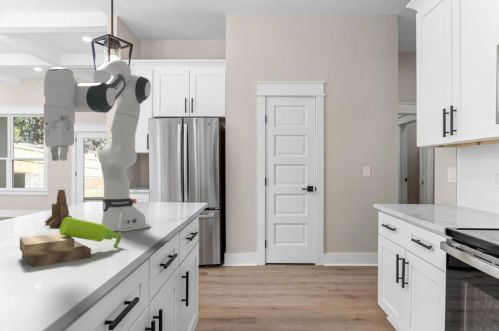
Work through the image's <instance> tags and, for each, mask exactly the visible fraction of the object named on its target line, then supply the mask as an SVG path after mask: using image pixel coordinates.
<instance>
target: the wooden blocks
mask: <svg viewBox="0 0 499 331" xmlns="http://www.w3.org/2000/svg"><path fill="white" fill-rule="evenodd" d="M65 190H66V189H58V190H57V191H58V192H57V194H56V202H55V203H52V204H51V215H50V216H49V217H48V218H47V219H46V220H45V221H44V224H46V225H47V226H49V227H50V228H52V229H54V228H53V227H55V228H56V227H58V226H59V227H60V226H61V223H62V221H63V219H64V218H65V217H70V218H73V216H71V214H70V211H69V206H68V205H69V204H68V203H67V195H66V191H65ZM69 214H70V215H69Z"/></svg>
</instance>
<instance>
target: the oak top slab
mask: <svg viewBox="0 0 499 331" xmlns="http://www.w3.org/2000/svg"><path fill="white" fill-rule="evenodd" d="M74 241H75V238H74V237H70V236H65V235H60V232H59V233H52V234H41V235H31V236H23V237H19V250H20V251H21V254H22V253H23V255H24V256H25V257H29V256H36V255H44V254H51V253H58V252H66V251H73V250H74Z"/></svg>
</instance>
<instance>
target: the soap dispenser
mask: <svg viewBox="0 0 499 331" xmlns="http://www.w3.org/2000/svg"><path fill="white" fill-rule="evenodd" d="M117 232H118V233H116V232H115V231H113V230H108V229H107V227H106V225H103V224H101V223H97V222H92V221H89V220H88V221H87V220H83V219H78V218H75V217H72V218H70V217H65V218H64V219H63V221H62V223H61V226H59V233H60V235H65V236H70V237H72V238H77V239H81V240H87V241H94V242H97V243H98V242H100V243H101V242H103V240H110V241H111V240H113V239H115V242H114V244H113V247H114V248H118V246H119V244H120V242H121V240H122V236H123V232H121V231H117Z"/></svg>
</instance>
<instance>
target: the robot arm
mask: <svg viewBox="0 0 499 331" xmlns="http://www.w3.org/2000/svg"><path fill="white" fill-rule="evenodd" d="M93 81H94V83H79V82H78V81H77V80H76V79H75V75H74V71H73V70H72V69H71V68H65V67H51V68H49V69H47V70H46V72H45V75H44V82H43V96H44V99H45V101H44V103H43V104H44V105H43V117H42V122H41V123H42V125H43V126H44V127H43V128H44V131H43V132H44V144H45V146H46V147H47V148H50V153H51V161H53V162H58V161H59V160H60V161H68V154H69V147H70V146H74V144H75V123H76V113H102V114H103V113H104V114H105V113H108V112H110V111H111V110H112V109H113V108H114V105H115V103H116V101H117V100H118V99H119V100H118V103H117V105H116V108H115V110H114V115H113V119H112V122H111V126H110V132H111V144H110V145H107V146H105V147H104V148H102V149H101V150H100V151H99V153H98V161H99V164H100V166H101V172H102V177H103V178H102V179H103V198H102V211H103V212H102V213H103V214H102V220H101V223H100V224H103V225H106V227H107V229H108V230H113V231H114V232H128V231H134V230H141V229H146V228H147V229H148V228H151V224H150V223H148V222H147V219H146V215H145V213H144V212H142V211H141V210H140V209H138V208H137V207H136V206H134V204H136V203H137V202H138V200H137V198H131V197H130V179H129V178H128V175H127V171H126V169H128V168H130V167H131V166H133V165H134V164H135V163H136V162H137V158H138V153H137V151H136V134H137V128H138V125H139V124H138V123H139V120H140V113H141V104H143V102H145V101H146V100H147V99H148V98H149V96H150V95H151V92H152V91H151V90H152V85H151V82H150V80H149V79H148V78H147V77H143V76H142V75H141V76H138V75H135V74H132V69H131V67H130V66H129V64H128V62H125V61H124V60H120V59H119V60H118V59H116V60H112V61H109V62H108V61H107V62H106V63H103V64H102V65H100V66H98V68H96V70H95V71H94V73H93ZM59 149H60V151H59Z"/></svg>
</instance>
